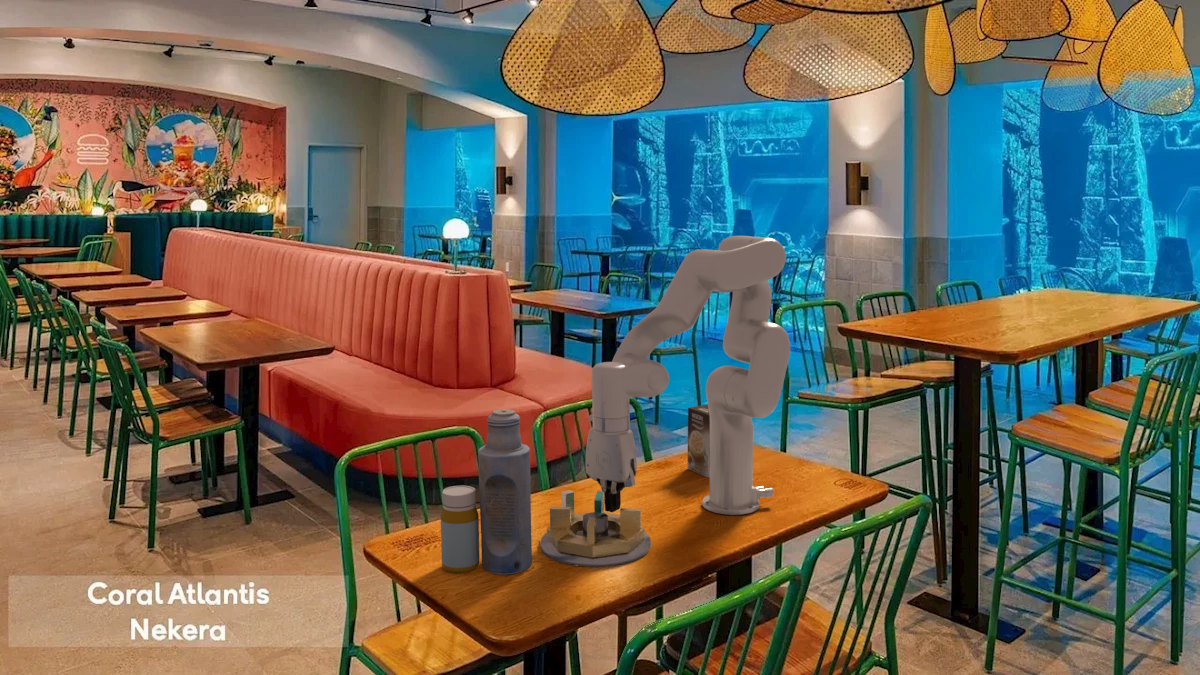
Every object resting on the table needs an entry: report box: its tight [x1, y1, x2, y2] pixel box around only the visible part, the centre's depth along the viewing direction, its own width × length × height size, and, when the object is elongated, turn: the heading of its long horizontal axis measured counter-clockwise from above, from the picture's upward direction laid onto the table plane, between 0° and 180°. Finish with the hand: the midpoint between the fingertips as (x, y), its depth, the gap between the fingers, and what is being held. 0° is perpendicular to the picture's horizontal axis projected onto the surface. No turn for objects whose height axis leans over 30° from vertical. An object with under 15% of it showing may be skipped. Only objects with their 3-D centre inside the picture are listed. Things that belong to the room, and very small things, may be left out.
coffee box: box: [686, 403, 710, 479], centre depth 235 cm, size 9×6×16 cm
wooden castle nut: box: [546, 490, 645, 558], centre depth 189 cm, size 20×18×6 cm
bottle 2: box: [477, 408, 533, 575], centre depth 177 cm, size 10×10×30 cm
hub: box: [540, 489, 652, 568], centre depth 188 cm, size 22×22×8 cm
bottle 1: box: [440, 485, 480, 574], centre depth 177 cm, size 7×7×15 cm
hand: (612, 509), depth 194 cm, fingers closed
